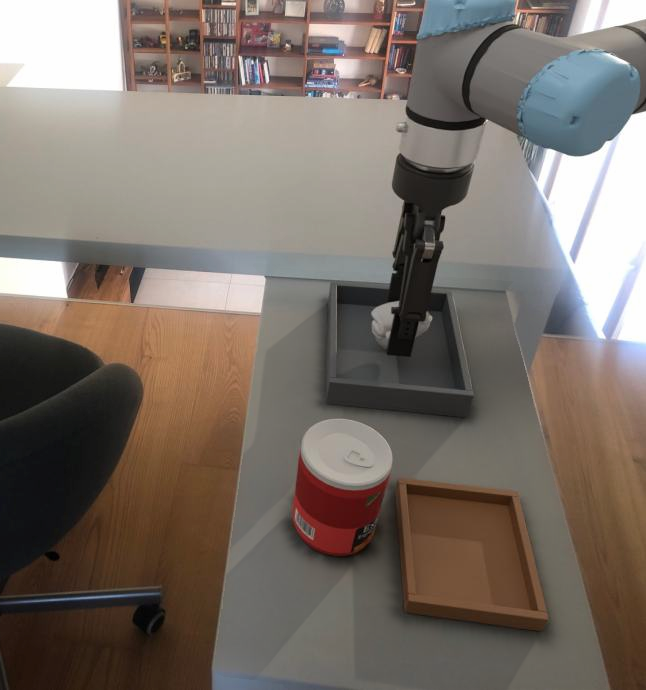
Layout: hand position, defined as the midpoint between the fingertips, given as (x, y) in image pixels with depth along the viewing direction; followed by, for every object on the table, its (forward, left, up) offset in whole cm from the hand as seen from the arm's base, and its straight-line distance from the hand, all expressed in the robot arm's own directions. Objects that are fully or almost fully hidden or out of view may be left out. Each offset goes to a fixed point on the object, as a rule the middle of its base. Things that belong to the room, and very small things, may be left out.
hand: (396, 335), depth 84 cm
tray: (-19, +21, -3) cm, 28 cm away
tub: (0, 0, -3) cm, 3 cm away
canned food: (-8, +26, -4) cm, 27 cm away
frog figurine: (0, 0, -2) cm, 2 cm away
